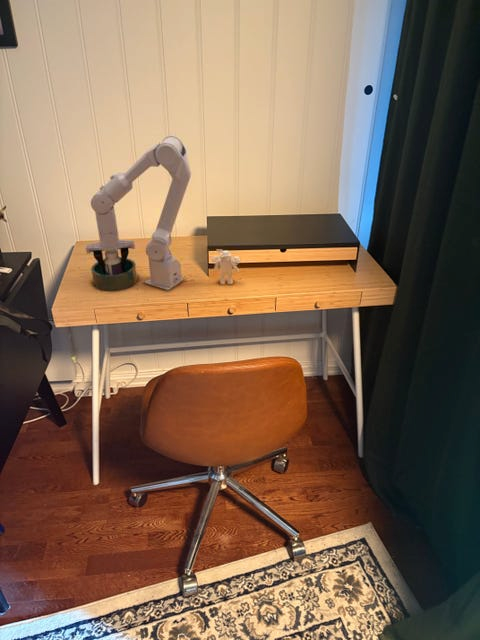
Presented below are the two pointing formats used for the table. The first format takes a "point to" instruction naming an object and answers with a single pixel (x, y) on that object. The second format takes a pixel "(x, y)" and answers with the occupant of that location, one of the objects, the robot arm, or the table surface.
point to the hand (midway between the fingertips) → (114, 270)
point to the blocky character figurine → (225, 265)
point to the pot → (115, 277)
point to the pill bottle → (112, 263)
